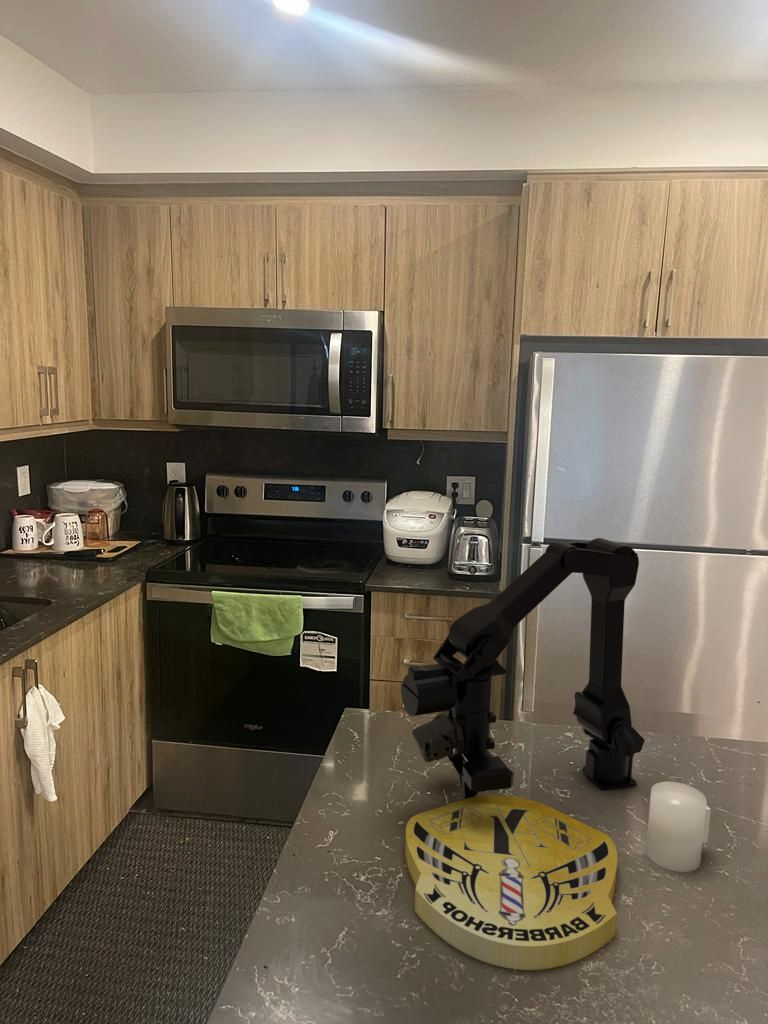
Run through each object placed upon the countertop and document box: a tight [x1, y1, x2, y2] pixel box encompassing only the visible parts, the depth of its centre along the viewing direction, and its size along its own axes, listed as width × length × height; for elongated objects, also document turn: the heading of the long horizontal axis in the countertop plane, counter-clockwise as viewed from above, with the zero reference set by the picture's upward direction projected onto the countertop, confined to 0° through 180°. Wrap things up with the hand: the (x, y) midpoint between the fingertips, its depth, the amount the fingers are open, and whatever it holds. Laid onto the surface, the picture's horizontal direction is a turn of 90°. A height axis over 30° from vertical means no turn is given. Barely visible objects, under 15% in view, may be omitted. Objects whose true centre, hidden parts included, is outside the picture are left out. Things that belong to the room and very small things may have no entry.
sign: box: [404, 794, 618, 971], centre depth 97 cm, size 28×3×30 cm
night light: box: [645, 781, 712, 873], centre depth 102 cm, size 8×7×9 cm
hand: (467, 801), depth 112 cm, fingers closed
